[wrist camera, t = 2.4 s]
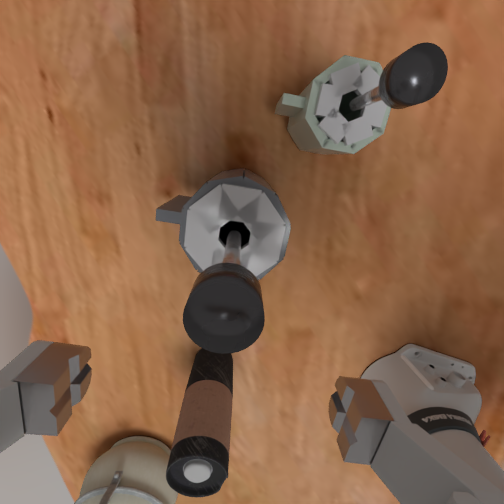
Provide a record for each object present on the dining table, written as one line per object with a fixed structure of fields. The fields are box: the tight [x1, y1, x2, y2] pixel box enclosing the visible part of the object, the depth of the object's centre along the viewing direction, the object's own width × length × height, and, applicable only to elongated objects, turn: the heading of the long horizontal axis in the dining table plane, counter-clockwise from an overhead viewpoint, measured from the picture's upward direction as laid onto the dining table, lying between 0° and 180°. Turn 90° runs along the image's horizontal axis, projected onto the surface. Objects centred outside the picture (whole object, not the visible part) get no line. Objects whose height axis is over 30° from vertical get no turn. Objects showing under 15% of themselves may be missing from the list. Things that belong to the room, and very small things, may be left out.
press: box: [156, 168, 291, 280], centre depth 33 cm, size 13×11×18 cm
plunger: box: [183, 231, 264, 354], centre depth 18 cm, size 4×4×13 cm
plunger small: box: [349, 43, 448, 111], centre depth 20 cm, size 3×3×10 cm
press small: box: [275, 55, 391, 154], centre depth 32 cm, size 10×8×14 cm
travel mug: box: [166, 348, 233, 497], centre depth 42 cm, size 8×8×20 cm
